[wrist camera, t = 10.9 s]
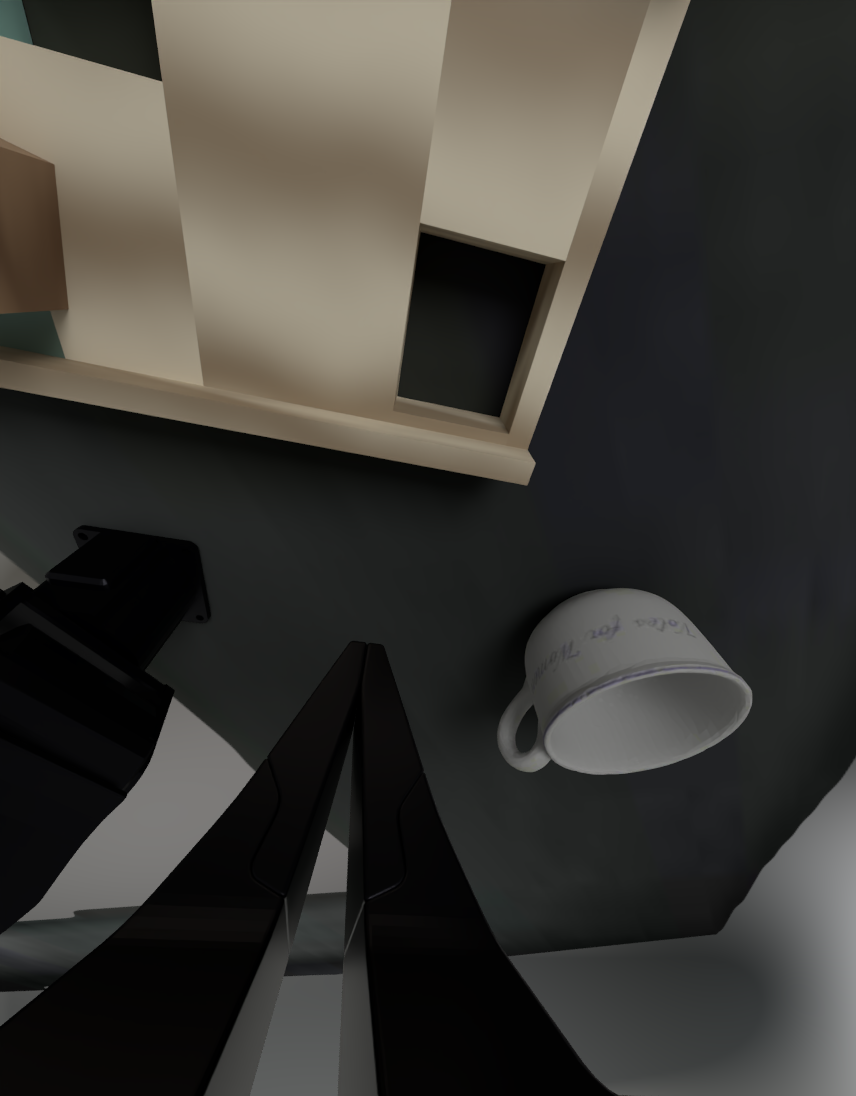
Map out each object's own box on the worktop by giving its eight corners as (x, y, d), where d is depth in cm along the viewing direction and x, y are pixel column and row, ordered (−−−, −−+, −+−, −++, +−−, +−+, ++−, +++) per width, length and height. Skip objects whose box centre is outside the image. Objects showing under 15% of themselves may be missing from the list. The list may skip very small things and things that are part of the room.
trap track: (509, 450, 19) (529, 490, 15) (-73, 336, 16) (-222, 351, 12) (678, -54, 11) (814, -237, 7) (-487, -499, 8) (-1366, -1255, 4)
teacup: (658, 537, 22) (756, 643, 16) (682, 644, 28) (763, 756, 21) (448, 618, 26) (456, 731, 19) (506, 698, 31) (528, 807, 25)
